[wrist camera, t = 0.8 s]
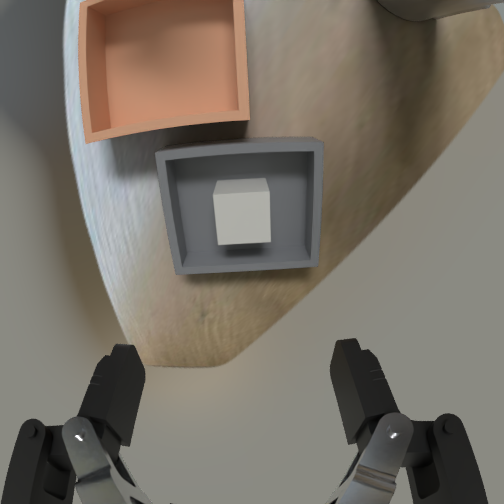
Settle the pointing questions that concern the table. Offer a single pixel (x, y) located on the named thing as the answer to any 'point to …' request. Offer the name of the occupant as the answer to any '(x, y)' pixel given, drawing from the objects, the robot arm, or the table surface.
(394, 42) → the table surface
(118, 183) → the table surface
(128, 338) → the table surface
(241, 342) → the table surface
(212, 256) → the charcoal bin
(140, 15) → the terracotta tray
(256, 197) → the off-white cube block
